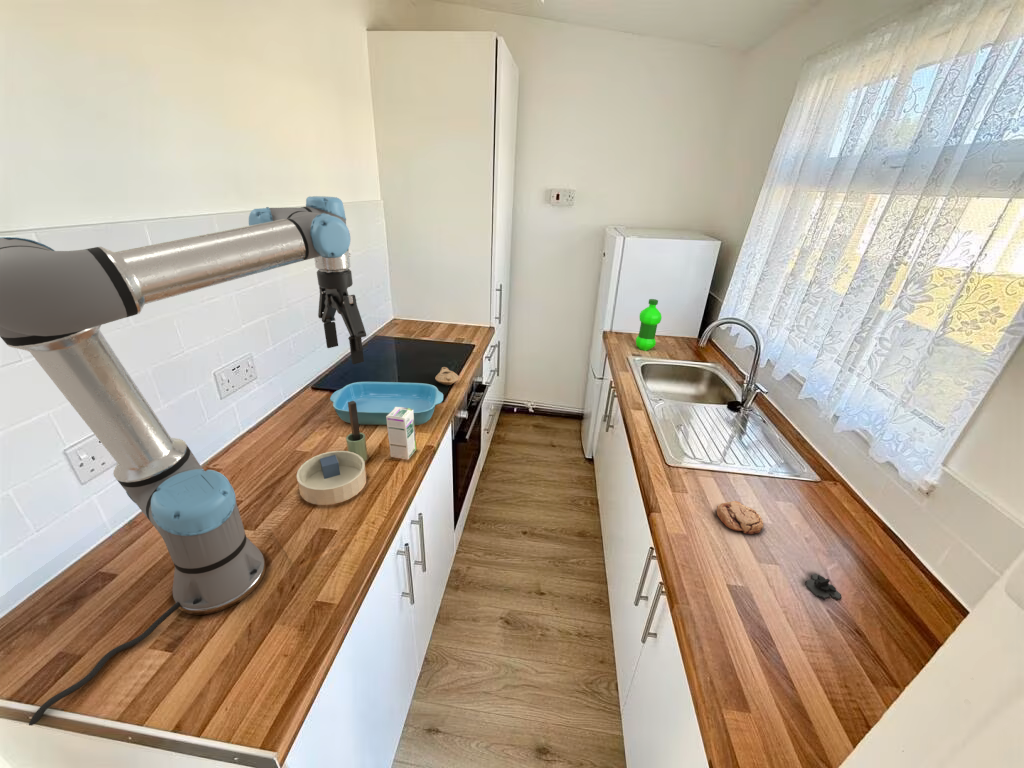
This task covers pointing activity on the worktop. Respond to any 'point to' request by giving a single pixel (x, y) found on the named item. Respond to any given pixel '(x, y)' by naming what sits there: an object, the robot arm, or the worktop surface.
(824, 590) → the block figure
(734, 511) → the cookie
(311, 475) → the bowl
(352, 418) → the chopstick
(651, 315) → the plastic bottle
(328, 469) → the block
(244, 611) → the worktop surface
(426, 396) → the casserole dish
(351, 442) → the utensil pot
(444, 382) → the pottery oil lamp
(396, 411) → the syrup box
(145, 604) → the worktop surface
